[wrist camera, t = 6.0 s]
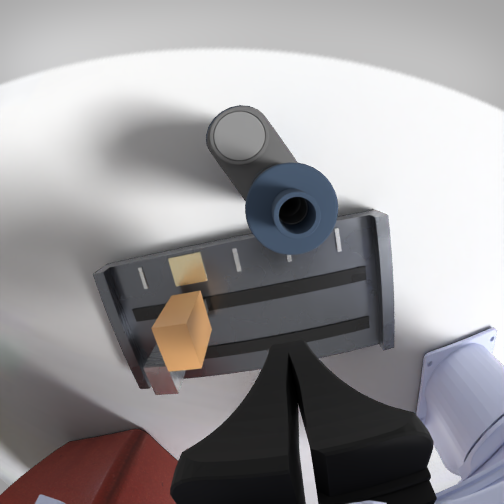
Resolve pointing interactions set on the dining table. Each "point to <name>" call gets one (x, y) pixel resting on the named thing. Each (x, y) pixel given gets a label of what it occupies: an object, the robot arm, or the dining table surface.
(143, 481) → the plant pot
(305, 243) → the vaping device
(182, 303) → the orange fader
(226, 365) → the mixer console
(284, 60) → the dining table surface
